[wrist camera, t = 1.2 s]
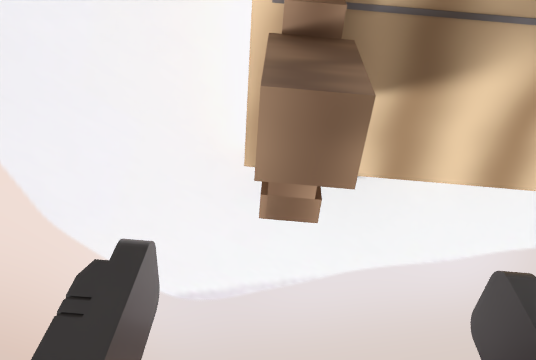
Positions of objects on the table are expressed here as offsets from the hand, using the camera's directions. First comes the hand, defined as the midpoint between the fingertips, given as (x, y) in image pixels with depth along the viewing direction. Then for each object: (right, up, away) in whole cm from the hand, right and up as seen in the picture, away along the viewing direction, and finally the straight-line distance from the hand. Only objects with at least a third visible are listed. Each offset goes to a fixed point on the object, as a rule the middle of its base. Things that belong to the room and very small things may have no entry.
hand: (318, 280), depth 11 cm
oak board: (+8, +10, +15) cm, 19 cm away
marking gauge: (+1, +8, +16) cm, 18 cm away
